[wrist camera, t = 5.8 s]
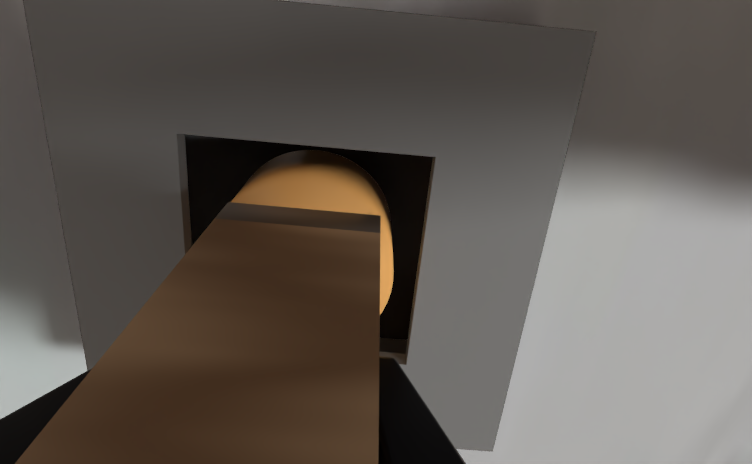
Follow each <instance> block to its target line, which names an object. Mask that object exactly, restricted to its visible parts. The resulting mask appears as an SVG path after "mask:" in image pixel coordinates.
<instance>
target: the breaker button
mask: <svg viewBox="0 0 752 464" xmlns="http://www.w3.org/2000/svg"><path fill="white" fill-rule="evenodd" d="M231 202H234V203H245V204H257V205H268V206H279V207H290V208H302V209H313V210H324V211H335V212H347V213H358V214H369V215H380V216H381V228H380V314H381V313H382V312H383V310H384V308H385V306H386V304H387V302H388V300H389V297H390V294H391V290H392V285H393V275H394V267H393V247H392V226H391V215H390V210H389V206H388V203H387V200H386V198H385V195H384V193H383V192H382V190H381V188H380V186H379V185H378V184H377V182H376V181H375V180H374V179H373V177H372V176H371V175H370V174H369V173H368V172H367V171H365V170H364V169H363V168H362V167H360V166H359V165H358V164H356V163H354V162H353V161H351V160H349V159H347V158H345V157H343V156H340V155H338V154H334V153H331V152H327V151H320V150H299V151H293V152H289V153H285V154H283V155H280V156H277V157H275V158H273V159H272V160H270V161H268V162H266V163H265V164H264V165H262V166H261V167H260V168H259V169H258V170H257V171H256V172H255V173H254V174H253V175H252V176H251V177H250V178H249V180H248V181H247V182H246V183H245V185H244V186H243V187H242V188H241V190H240V191H239V192H238V194H237V195H236V196H235V197H234V199H233V200H232V201H231Z"/></svg>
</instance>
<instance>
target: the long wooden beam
mask: <svg viewBox="0 0 752 464" xmlns="http://www.w3.org/2000/svg"><path fill="white" fill-rule="evenodd" d="M380 228H381V216H380V215H369V214H358V213H347V212H335V211H324V210H313V209H302V208H290V207H279V206H268V205H257V204H245V203H234V202H228V203H227V204H226V205H225V206H224V207H223V209H222V210H221V211H220V212H219V214H218V215H217V216H216V217H215V219H214V220H213V221H212V222H211V223H210V225H209V226H208V227H207V228H206V230H205V231H204V232H203V233H202V234H201V236H200V237H199V238H198V239H197V241H196V242H195V243H194V244H193V246H192V247H191V248H190V249H189V250H188V252H187V253H186V254H185V255H184V257H183V258H182V259H181V260H180V261H179V263H178V264H177V265H176V266H175V268H174V269H173V270H172V271H171V273H170V274H169V275H168V276H167V277H166V279H165V280H164V281H163V282H162V284H161V285H160V286H159V287H158V288H157V290H156V291H155V292H154V293H153V295H152V296H151V297H150V298H149V300H148V301H147V302H146V303H145V304H144V306H143V307H142V308H141V309H140V311H139V312H138V313H137V314H136V315H135V317H134V318H133V319H132V320H131V322H130V323H129V324H128V325H127V327H126V328H125V329H124V330H123V331H122V333H121V334H120V335H119V336H118V338H117V339H116V340H115V341H114V342H113V344H112V345H111V346H110V347H109V349H108V350H107V351H106V352H105V354H104V355H103V356H102V357H101V358H100V360H99V361H98V362H97V363H96V365H95V366H94V367H93V368H92V369H91V371H90V372H89V373H88V374H87V376H86V377H85V378H84V379H83V381H82V382H81V383H80V384H79V385H78V387H77V388H76V389H75V390H74V392H73V393H72V394H71V395H70V396H69V398H68V399H67V400H66V401H65V403H64V404H63V405H62V406H61V408H60V409H59V410H58V411H57V412H56V414H55V415H54V416H53V417H52V419H51V420H50V421H49V422H48V423H47V425H46V426H45V427H44V428H43V430H42V431H41V432H40V433H39V435H38V436H37V437H36V438H35V439H34V441H33V442H32V443H31V444H30V446H29V447H28V448H27V449H26V450H25V452H24V453H23V454H22V455H21V457H20V458H19V459H18V460H17V462H16V463H15V464H378V454H379V341H380Z"/></svg>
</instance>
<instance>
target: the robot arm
mask: <svg viewBox="0 0 752 464" xmlns="http://www.w3.org/2000/svg"><path fill="white" fill-rule="evenodd" d="M90 371H91V369H90V370H88V371H86V372H85V373H83V374H81V375H79V376H77V377H76V378H74V379H72V380H70V381H69V382H67V383H65V384H63V385H61V386H60V387H58V388H56V389H54V390H52V391H51V392H49V393H47V394H45V395H43V396H42V397H40V398H38V399H36V400H34V401H33V402H31V403H29V404H27V405H25V406H24V407H22V408H20V409H18V410H17V411H15V412H13V413H11V414H9V415H8V416H6V417H4V418H2V419H0V464H15V463H16V462H17V460H18V459H19V458H20V457H21V455H22V454H23V453H24V452H25V450H26V449H27V448H28V447H29V446H30V444H31V443H32V442H33V441H34V439H35V438H36V437H37V436H38V435H39V433H40V432H41V431H42V430H43V428H44V427H45V426H46V425H47V423H48V422H49V421H50V420H51V419H52V417H53V416H54V415H55V414H56V412H57V411H58V410H59V409H60V408H61V406H62V405H63V404H64V403H65V401H66V400H67V399H68V398H69V396H70V395H71V394H72V393H73V392H74V390H75V389H76V388H77V387H78V385H79V384H80V383H81V382H82V381H83V379H84V378H85V377H86V376H87V374H88V373H89V372H90ZM378 464H466V463H465V462H464V460H463V459H462V457H461V456H460V454H459V453H458V451H457V450H456V448H455V447H454V445H453V444H452V442H451V441H450V439H449V438H448V436H447V435H446V433H445V432H444V430H443V429H442V427H441V426H440V424H439V423H438V421H437V420H436V418H435V417H434V416H433V414H432V413H431V411H430V410H429V408H428V407H427V405H426V404H425V402H424V401H423V399H422V398H421V396H420V395H419V393H418V392H417V390H416V389H415V387H414V386H413V384H412V383H411V381H410V380H409V378H408V377H407V375H406V374H405V372H404V371H403V369H402V368H401V366H400V365H399V363H398V362H397V360H396V359H395V358H393V357H382V356H379V454H378Z"/></svg>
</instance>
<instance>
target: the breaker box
mask: <svg viewBox="0 0 752 464" xmlns="http://www.w3.org/2000/svg"><path fill="white" fill-rule="evenodd" d="M23 3H24V8H25V14H26V20H27V26H28V31H29V37H30V43H31V49H32V54H33V60H34V66H35V72H36V77H37V83H38V89H39V95H40V100H41V106H42V112H43V118H44V123H45V129H46V135H47V141H48V146H49V152H50V158H51V163H52V169H53V175H54V181H55V186H56V192H57V198H58V204H59V209H60V215H61V221H62V227H63V232H64V238H65V244H66V250H67V255H68V261H69V267H70V273H71V278H72V284H73V290H74V295H75V301H76V307H77V313H78V318H79V324H80V330H81V336H82V341H83V347H84V353H85V359H86V364H87V370H90V369H92V368H93V367H94V366H95V365H96V363H97V362H98V361H99V360H100V358H101V357H102V356H103V355H104V354H105V352H106V351H107V350H108V349H109V347H110V346H111V345H112V344H113V342H114V341H115V340H116V339H117V338H118V336H119V335H120V334H121V333H122V331H123V330H124V329H125V328H126V327H127V325H128V324H129V323H130V322H131V320H132V319H133V318H134V317H135V315H136V314H137V313H138V312H139V311H140V309H141V308H142V307H143V306H144V304H145V303H146V302H147V301H148V300H149V298H150V297H151V296H152V295H153V293H154V292H155V291H156V290H157V288H158V287H159V286H160V285H161V284H162V282H163V281H164V280H165V279H166V277H167V276H168V275H169V274H170V273H171V271H172V270H173V269H174V268H175V266H176V265H177V264H178V263H179V261H180V260H181V259H182V258H183V257H184V255H185V254H186V253H187V252H188V250H189V249H190V248H191V247H192V242H191V226H190V210H189V194H188V178H187V162H186V146H185V134H186V135H197V136H208V137H219V138H230V139H241V140H252V141H263V142H274V143H285V144H296V145H307V146H318V147H329V148H340V149H351V150H363V151H374V152H385V153H396V154H407V155H418V156H429V157H433V160H432V167H431V174H430V182H429V189H428V196H427V203H426V210H425V218H424V225H423V232H422V239H421V246H420V254H419V261H418V268H417V275H416V283H415V290H414V297H413V304H412V311H411V319H410V326H409V333H408V340H402V339H390V338H380V341H379V356H382V357H393V358H395V359H396V360H397V362H398V363H399V365H400V366H401V368H402V369H403V371H404V372H405V374H406V375H407V377H408V378H409V380H410V381H411V383H412V384H413V386H414V387H415V389H416V390H417V392H418V393H419V395H420V396H421V398H422V399H423V401H424V402H425V404H426V405H427V407H428V408H429V410H430V411H431V413H432V414H433V416H434V417H435V418H436V420H437V421H438V423H439V424H440V426H441V427H442V429H443V430H444V432H445V433H446V435H447V436H448V438H449V439H450V441H451V442H452V444H453V445H454V447H455V448H456V449H466V450H479V451H493V448H494V444H495V440H496V436H497V432H498V428H499V424H500V420H501V416H502V412H503V408H504V403H505V399H506V395H507V391H508V387H509V383H510V379H511V375H512V371H513V367H514V363H515V359H516V355H517V351H518V347H519V343H520V339H521V335H522V331H523V327H524V323H525V319H526V314H527V310H528V306H529V302H530V298H531V294H532V290H533V286H534V282H535V278H536V274H537V270H538V266H539V262H540V258H541V254H542V250H543V246H544V242H545V238H546V234H547V230H548V225H549V221H550V217H551V213H552V209H553V205H554V201H555V197H556V193H557V189H558V185H559V181H560V177H561V173H562V169H563V165H564V161H565V157H566V153H567V149H568V145H569V141H570V137H571V132H572V128H573V124H574V120H575V116H576V112H577V108H578V104H579V100H580V96H581V92H582V88H583V84H584V80H585V76H586V72H587V68H588V64H589V60H590V56H591V52H592V48H593V43H594V39H595V35H596V32H595V31H585V30H574V29H564V28H554V27H544V26H534V25H524V24H513V23H503V22H493V21H483V20H473V19H463V18H453V17H442V16H432V15H422V14H412V13H402V12H392V11H381V10H371V9H361V8H351V7H341V6H331V5H320V4H310V3H300V2H290V1H280V0H23Z"/></svg>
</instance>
